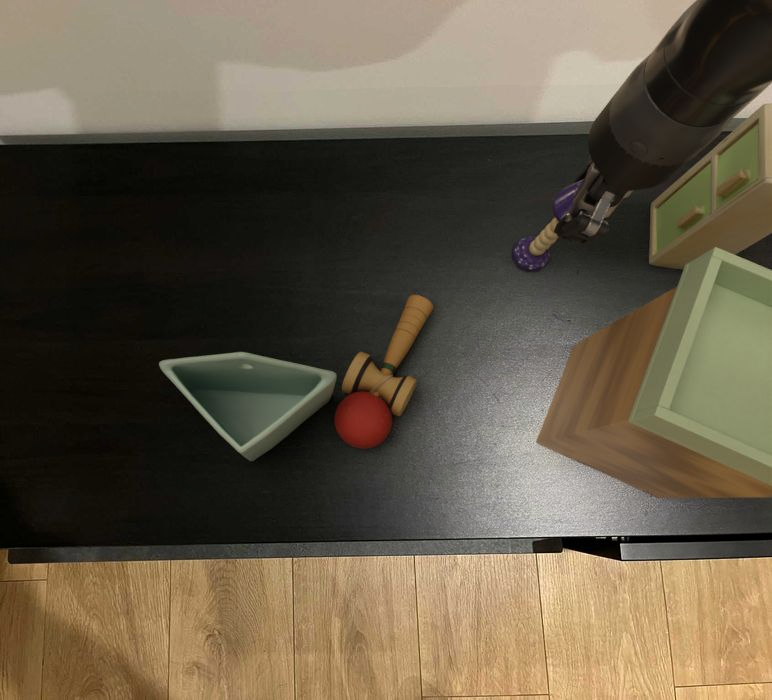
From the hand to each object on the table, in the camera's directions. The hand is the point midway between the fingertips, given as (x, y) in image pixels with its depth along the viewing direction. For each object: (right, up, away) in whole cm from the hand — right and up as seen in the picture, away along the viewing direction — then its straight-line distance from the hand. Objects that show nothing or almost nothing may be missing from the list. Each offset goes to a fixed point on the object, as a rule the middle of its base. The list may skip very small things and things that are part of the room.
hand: (574, 210), depth 68 cm
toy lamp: (0, -3, +12) cm, 13 cm away
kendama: (-18, -16, +9) cm, 26 cm away
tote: (+8, -16, -15) cm, 24 cm away
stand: (+8, -21, +8) cm, 24 cm away
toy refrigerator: (+16, -1, +13) cm, 21 cm away
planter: (-32, -22, +8) cm, 39 cm away
